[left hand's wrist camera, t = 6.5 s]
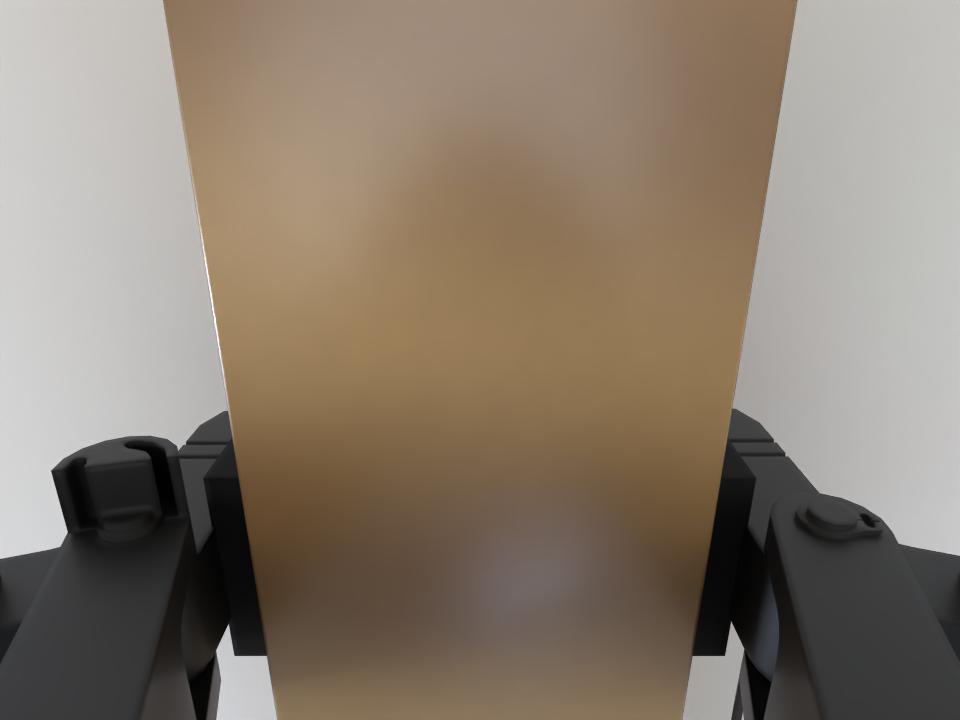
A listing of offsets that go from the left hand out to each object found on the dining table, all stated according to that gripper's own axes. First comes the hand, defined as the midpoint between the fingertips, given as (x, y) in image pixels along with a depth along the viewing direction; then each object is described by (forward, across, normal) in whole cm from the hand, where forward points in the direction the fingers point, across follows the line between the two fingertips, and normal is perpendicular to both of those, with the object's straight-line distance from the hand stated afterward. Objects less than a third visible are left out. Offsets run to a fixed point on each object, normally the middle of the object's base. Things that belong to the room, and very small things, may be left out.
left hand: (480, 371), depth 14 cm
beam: (0, 0, -25) cm, 25 cm away
